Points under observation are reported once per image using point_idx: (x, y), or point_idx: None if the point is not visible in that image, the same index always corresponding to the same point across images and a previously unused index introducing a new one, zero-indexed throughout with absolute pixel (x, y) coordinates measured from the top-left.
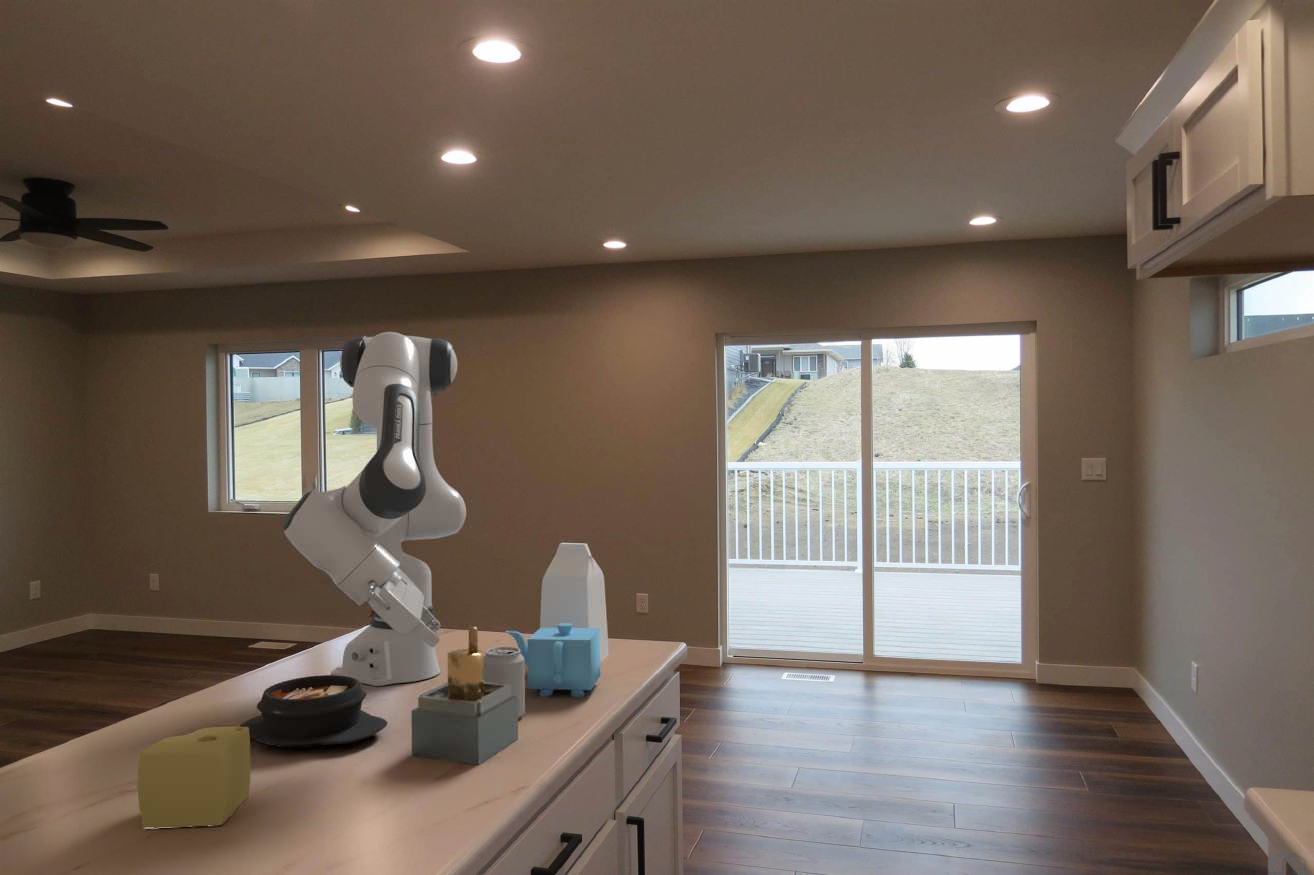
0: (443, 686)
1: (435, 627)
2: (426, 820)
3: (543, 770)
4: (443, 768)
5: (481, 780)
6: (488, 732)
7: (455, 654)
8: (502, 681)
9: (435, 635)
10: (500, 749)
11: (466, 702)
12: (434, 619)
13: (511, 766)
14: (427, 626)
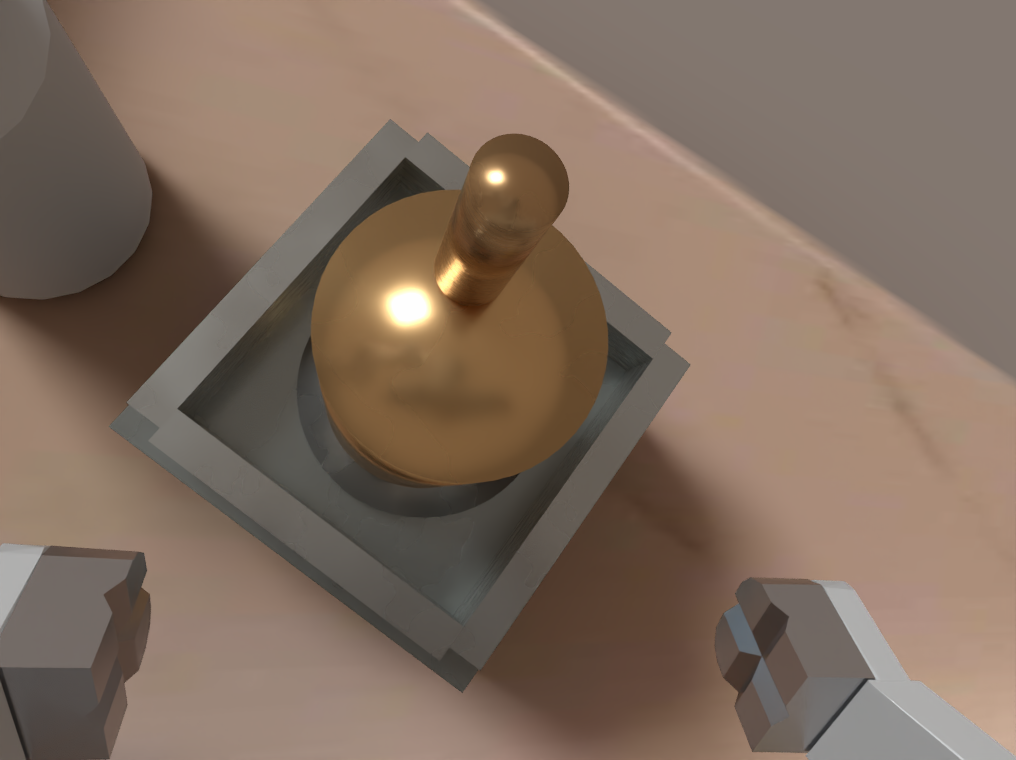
0: (286, 507)
1: (128, 616)
2: (984, 587)
3: (714, 198)
4: (606, 520)
5: (745, 401)
6: None
7: (487, 417)
8: (89, 132)
9: (878, 632)
10: None
11: (659, 403)
12: (63, 652)
13: (653, 288)
14: (106, 738)
